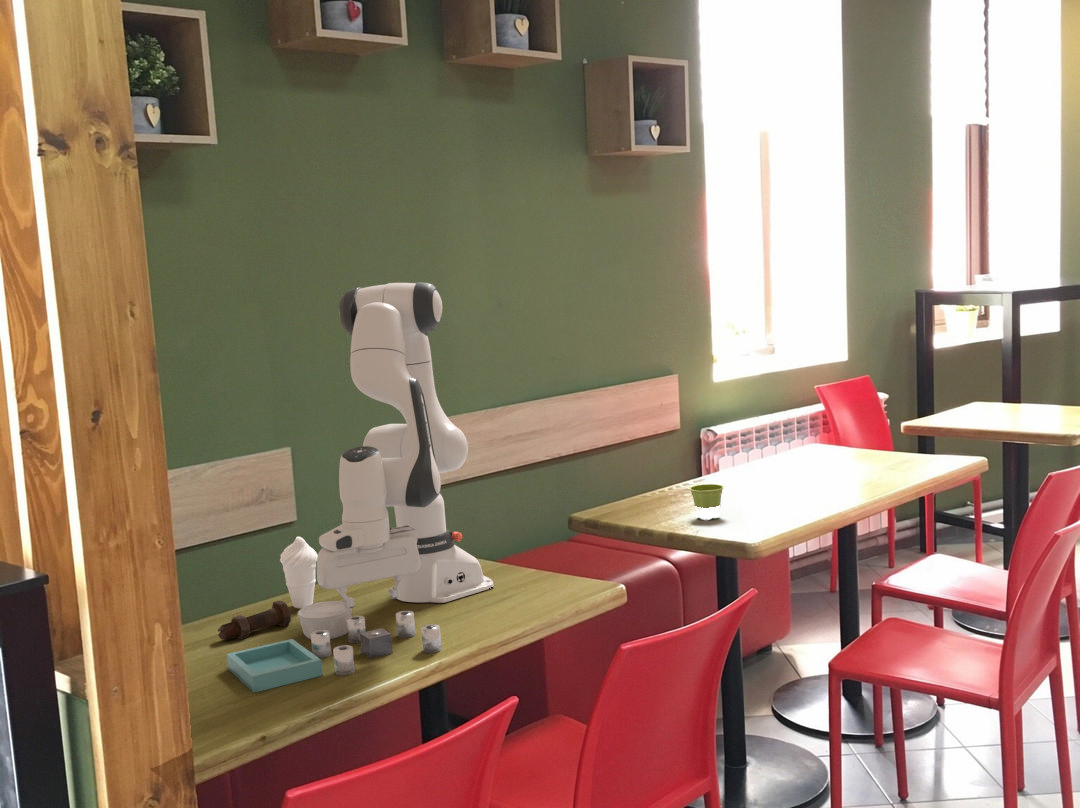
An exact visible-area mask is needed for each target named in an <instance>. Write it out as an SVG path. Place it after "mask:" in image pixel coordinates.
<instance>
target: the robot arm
mask: <svg viewBox="0 0 1080 808" xmlns="http://www.w3.org/2000/svg"><path fill="white" fill-rule="evenodd" d="M338 313H339V319H340V324H341V326H342V328H343V329H344V331H345V332H346V333H348V334H349V336H351V342H350V343H351V344H350V362H349V365H350V375H351V379H352V382H353V384H354V385H355V387H356V388H357V389H358V390H359V391H360V392H361V393H362V394H364V395H365V396H367V397H369V398H371V399H373V400H376V401H378V402H381V403H385V404H388V405H391V407H394V408H395V409H396V410H398V411H399V412H400V414H401V415H402V416H403V418H404V420H405V422H406V423H389V424H388V423H387V424H384V425H380V426H374V427H372V428H371V429H369V431H368V432H367V434H366V435H365V437H364V440H363V444H362V446H356V447H353V448H349V449H347V450H346V451H344V452H342V453H341V455H340V459H339V469H338V470H339V471H338V472H339V473H338V477H339V478H338V479H339V480H338V483H339V484H338V485H339V487H338V488H339V498H340V502H341V503H342V508H343V510H342V515H341V522H342V524H340V525H338V526H336V527H334V528H333V529H330V530H329V531H326V532H325V533H323V534H321V535H320V536H319V538H318V543H319V545H320V546H321V549H320V550H319V552H318V553H317V555H318V557H317V561H316V582H317V584H318V585H319V586H320V587H321V588H323V589H324V590H327V591H328V590H334V589H336V592H337V593H338V594H339V596H340V597H341V598H342V601H344V607H345V608H346V609H349V608H355V598H353V597H351V596H348V594H347V592H348V587H349V586H354V585H358V584H363V583H368V582H372V581H373V582H374V581H377V580H378V581H379V580H383V579H388V578H393V580H395V581H394V583H393V586H392V587H391V588H388V592H389V598H390V599H392V600H395V599H397V600H399V601H402V602H408V603H438V604H441V603H443V604H444V603H448V602H451V601H454V600H457V599H460V598H464V597H467V596H471V595H474V594H476V593H481V592H482V591H487V590H490V589H492V588H491V587H493V586H495V585H494V581H493V580H492V579H491V578H490V577H489V576H485V575H484V574H483V570H482V566H481V564H480V562H479V560H478V559H477V558H476V557H475V556H473V555H472V554H470V553H468V552H467V551H465V549H462V548H460V547H459V546H458V545H456V544H455V542H461V541H462V539H463V536H464V535H463V534H462V532H459V531H452V530H449V529H447V522H446V510H445V501H444V498H443V495H442V494H441V486H442V483H441V482H442V480H441V476H440V474H444V473H450V472H454V471H457V470H459V469H461V467H462V466H463V465H464V463H466V461H467V457H468V453H469V444H468V440H467V438H466V434H464V432H463V430H461V429H460V428H459V427H457V426H456V425H455V424H454V423H453V422H451V420H450V419H449V417H448V416H447V414H446V413H445V412H444V410H443V408H442V406H441V403H440V401H439V399H438V395H437V391H436V385H435V377H434V372H433V361H432V352H431V346H430V345H431V344H430V341H429V337H428V336H429V335H430V333H431V332H432V331H434V330H435V329H436V328H437V327H438V325H439V324H440V322H441V319H442V314H443V302H442V298H441V295H440V292H439V290H438V288H436V286H434V284H432V283H429V282H422V281H417V282H388V283H387V284H379V285H372V286H366V287H360V286H359V287H355V288H351V289H349V290H347V291H345V293H343V295H342V296H341V298H340V302H339V309H338ZM388 507H393V508H394V509H393V510H394V516H395V523H396V526H395V527H390V520H389V519H390V517H389V511H388V509H387V508H388ZM489 588H490V589H489ZM493 588H494V587H493Z"/></svg>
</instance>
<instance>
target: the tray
mask: <svg viewBox="0 0 1080 808" xmlns="http://www.w3.org/2000/svg"><path fill="white" fill-rule="evenodd" d="M226 660H227V661H226V662H227V670H228V671H230V673H232V674H233V676H235V677H236V678H237V679H238V680H239V681H240V682H241V683H242V684H244V685H245V686H246V687H247V688H248V689H249V690H250V691H251V692H252V693H254V694H255V693H258V692H262V691H263V692H264V691H266V690H271V689H274V688H279V687H283V686H286V685H291V684H295V683H299V682H303V681H306V680H311V679H315V678H318V677H322V676H323V665H322V658H321V659H319V658H318V657H317V656H315V655H314V654H312V651H310V650H308V649H307V648H306V647H304V646H303V645H302V644H300V643H298V642H297V641H296V640H295V639H293V638H289V639H286V640H282V641H277V642H273V643H268V644H264V645H260V646H255V647H251V648H247V649H243V650H237V651H233V652H229V653H226Z"/></svg>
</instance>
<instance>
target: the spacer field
mask: <svg viewBox="0 0 1080 808" xmlns="http://www.w3.org/2000/svg"><path fill="white" fill-rule="evenodd" d="M395 619H396V620H395V622H396V631H397V632H396V633H397V637H398V638H400V639H408V638H412V637H414V636H415V635H416V624H415V614H414V611H412V610H402V611H398V612H396V613H395ZM420 630H421V643H422V651H423V653H427V654H434V653H438V652H441V651H442V636H441V627H440V625H439V624H426V625H423V626H422V627H421V629H420ZM347 631H348V633H347V640H348V643H349V644H350V643H351V644H358V643H360V644H361V641H360V633H363V632H367V631H366V619H365V616H363V615H353V616H352V617H349V618H347ZM310 640H311V641H310V642H311V653H312V654H314V655H315V656H317V657H318V658H319V659H321V660H322V659H326V658H329V657H331V656H332V652H333V662H334V663H333V664H334V672H335V673H334V674H335V675H337V676H348V675H351V674H353V673H355V671H356V669H355V667H356V666H355V659H354V658H355V657H354V649H353V648H354V646H353V645H349V644H348V645H347V644H345V645H343V644H342V645H339V646H335V647H334V648H332V645H331V639H330V633H329V631H327V630H319V631H315V632H312V633H311V639H310ZM332 649H333V650H332Z"/></svg>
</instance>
